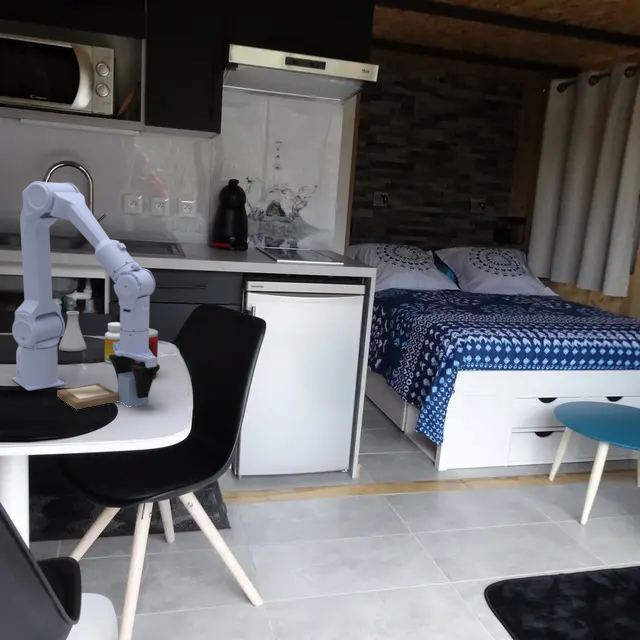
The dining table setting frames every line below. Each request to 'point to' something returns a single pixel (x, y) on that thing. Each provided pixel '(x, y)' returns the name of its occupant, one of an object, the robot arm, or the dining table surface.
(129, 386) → the block
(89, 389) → the plinth
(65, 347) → the flask
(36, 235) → the robot arm
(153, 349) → the canned food
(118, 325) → the supplement bottle
